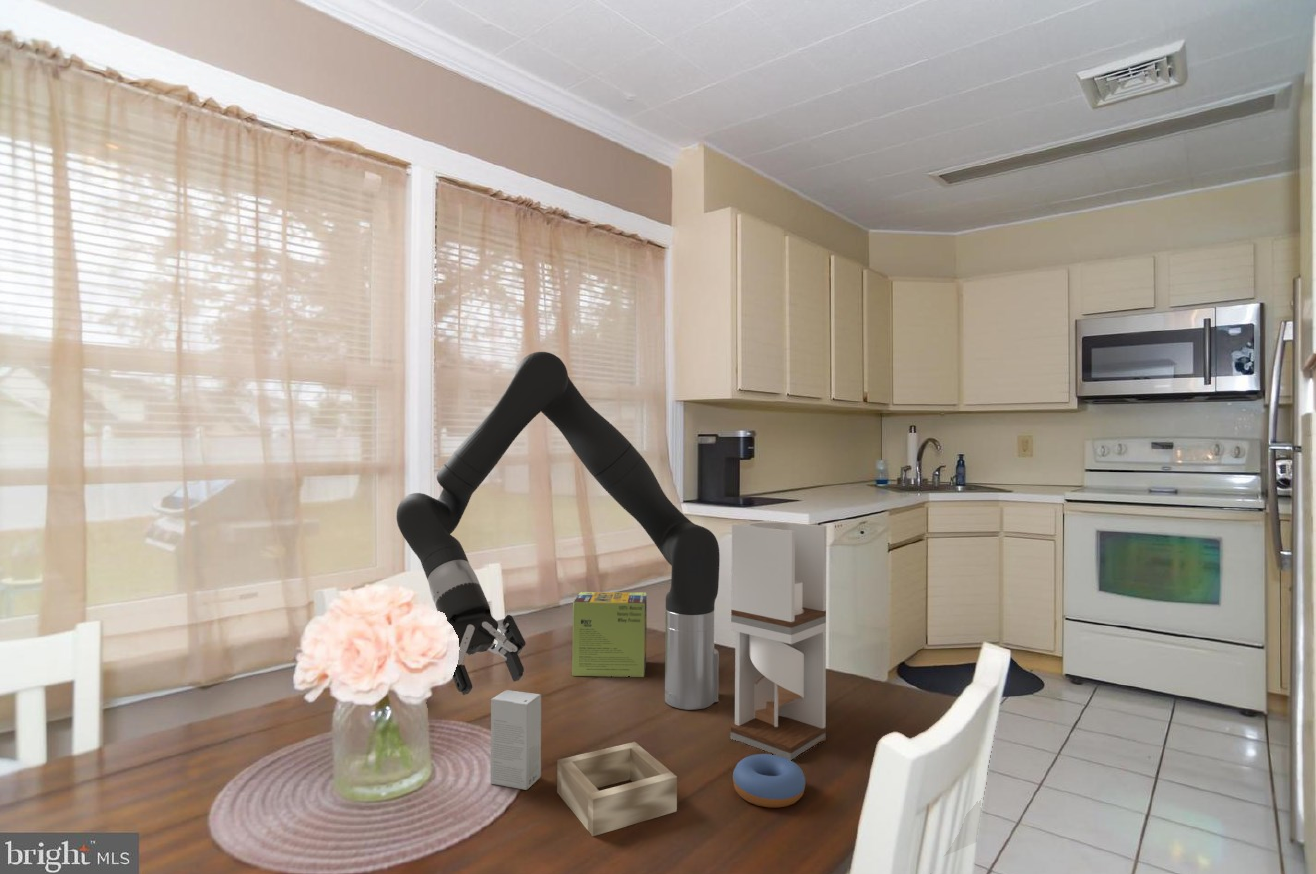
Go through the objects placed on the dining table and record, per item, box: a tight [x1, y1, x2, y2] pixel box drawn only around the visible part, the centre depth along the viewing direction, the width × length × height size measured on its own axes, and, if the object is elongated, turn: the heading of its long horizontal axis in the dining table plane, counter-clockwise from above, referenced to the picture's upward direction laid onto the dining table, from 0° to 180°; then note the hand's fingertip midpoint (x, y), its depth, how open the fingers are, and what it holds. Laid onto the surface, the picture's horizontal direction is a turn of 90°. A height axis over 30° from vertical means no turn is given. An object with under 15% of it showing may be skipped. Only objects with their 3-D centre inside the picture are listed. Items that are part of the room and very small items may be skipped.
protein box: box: [571, 591, 648, 678], centre depth 146 cm, size 10×15×16 cm
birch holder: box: [556, 741, 678, 837], centre depth 91 cm, size 12×12×4 cm
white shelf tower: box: [730, 520, 827, 761], centre depth 111 cm, size 11×11×35 cm
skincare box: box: [490, 689, 542, 791], centre depth 97 cm, size 6×4×12 cm
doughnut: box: [732, 753, 807, 808], centre depth 94 cm, size 10×10×5 cm
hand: (494, 684), depth 101 cm, fingers open, 8 cm apart
